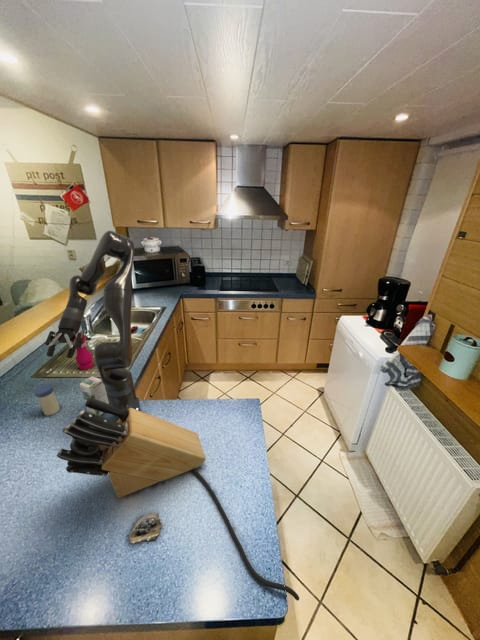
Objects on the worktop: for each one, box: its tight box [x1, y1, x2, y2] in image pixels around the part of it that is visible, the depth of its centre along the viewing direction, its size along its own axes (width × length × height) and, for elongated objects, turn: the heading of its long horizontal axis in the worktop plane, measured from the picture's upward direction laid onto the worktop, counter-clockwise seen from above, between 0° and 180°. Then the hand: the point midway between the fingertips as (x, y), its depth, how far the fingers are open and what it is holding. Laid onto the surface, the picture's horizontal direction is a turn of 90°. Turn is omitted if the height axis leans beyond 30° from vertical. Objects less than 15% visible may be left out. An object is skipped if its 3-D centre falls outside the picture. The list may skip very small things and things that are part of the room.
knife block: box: [56, 398, 207, 499], centre depth 71 cm, size 11×35×31 cm, turn 113°
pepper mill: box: [74, 331, 95, 370], centre depth 122 cm, size 7×7×20 cm
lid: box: [33, 383, 55, 398], centre depth 95 cm, size 6×6×2 cm
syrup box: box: [79, 375, 109, 416], centre depth 97 cm, size 6×6×14 cm
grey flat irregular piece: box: [128, 512, 163, 545], centre depth 63 cm, size 7×8×2 cm
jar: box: [36, 390, 61, 416], centre depth 97 cm, size 5×5×11 cm
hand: (59, 357), depth 101 cm, fingers open, 8 cm apart
